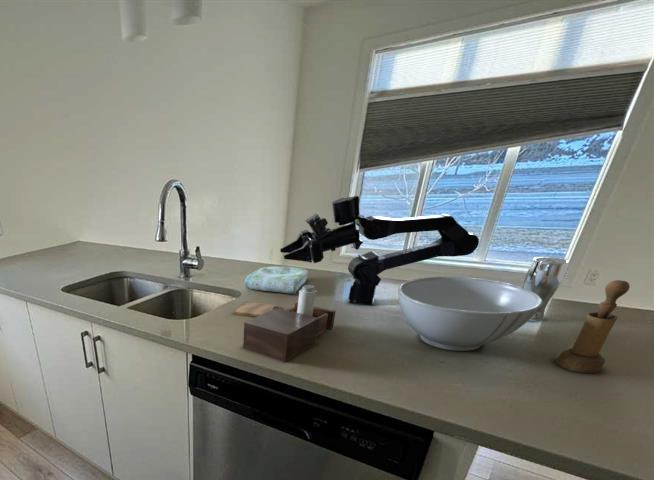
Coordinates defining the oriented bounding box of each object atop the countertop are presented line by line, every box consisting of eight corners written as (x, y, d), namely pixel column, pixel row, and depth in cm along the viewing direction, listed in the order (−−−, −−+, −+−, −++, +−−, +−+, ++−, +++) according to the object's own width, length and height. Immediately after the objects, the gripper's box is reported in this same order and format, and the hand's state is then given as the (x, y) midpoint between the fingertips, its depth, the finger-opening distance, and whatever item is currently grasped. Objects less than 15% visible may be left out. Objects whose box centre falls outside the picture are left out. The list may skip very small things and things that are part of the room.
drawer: (297, 319, 117) (299, 301, 114) (335, 328, 109) (338, 309, 106) (269, 333, 110) (270, 314, 107) (307, 344, 102) (309, 324, 99)
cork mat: (275, 307, 129) (275, 305, 129) (265, 317, 122) (265, 315, 122) (245, 304, 134) (245, 301, 134) (234, 313, 127) (234, 311, 127)
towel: (308, 279, 153) (310, 266, 150) (294, 296, 137) (295, 281, 135) (261, 276, 162) (262, 263, 159) (243, 291, 146) (243, 277, 144)
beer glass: (537, 312, 109) (561, 256, 101) (550, 322, 103) (576, 263, 96) (506, 312, 111) (527, 256, 104) (517, 321, 105) (540, 263, 98)
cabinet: (274, 332, 112) (276, 307, 109) (315, 344, 103) (319, 318, 100) (243, 347, 105) (244, 322, 102) (285, 361, 96) (287, 334, 93)
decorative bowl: (538, 372, 83) (565, 317, 77) (391, 357, 94) (403, 307, 88) (502, 324, 104) (520, 278, 98) (384, 316, 114) (394, 274, 108)
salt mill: (312, 324, 109) (318, 285, 104) (309, 330, 107) (314, 289, 101) (297, 323, 111) (302, 284, 106) (293, 328, 109) (298, 288, 103)
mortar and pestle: (547, 360, 87) (585, 278, 78) (576, 357, 87) (617, 274, 78) (579, 375, 81) (624, 287, 72) (609, 371, 81) (658, 283, 72)
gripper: (326, 206, 124) (274, 222, 129) (341, 214, 108) (281, 233, 113) (330, 242, 129) (280, 256, 134) (345, 255, 113) (287, 271, 118)
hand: (282, 253), depth 124 cm, fingers open, 9 cm apart
